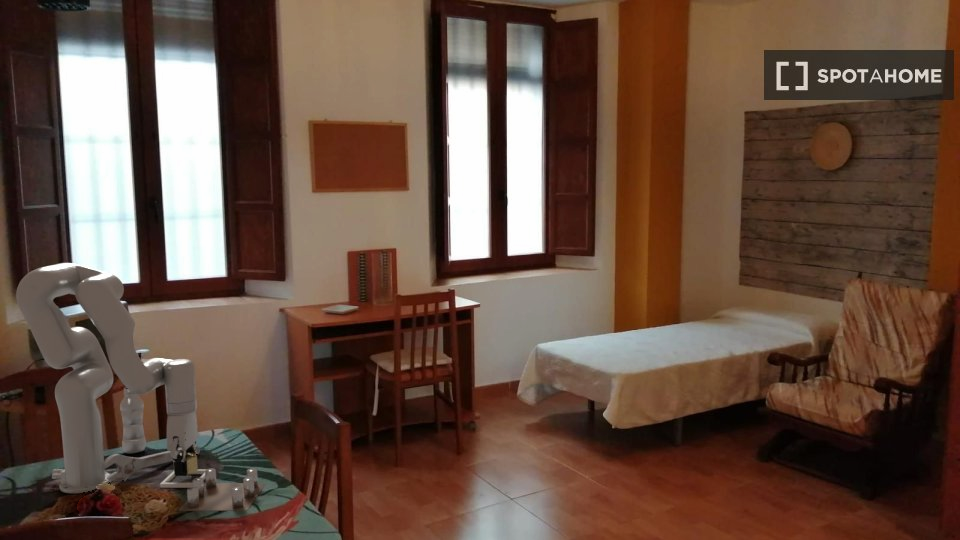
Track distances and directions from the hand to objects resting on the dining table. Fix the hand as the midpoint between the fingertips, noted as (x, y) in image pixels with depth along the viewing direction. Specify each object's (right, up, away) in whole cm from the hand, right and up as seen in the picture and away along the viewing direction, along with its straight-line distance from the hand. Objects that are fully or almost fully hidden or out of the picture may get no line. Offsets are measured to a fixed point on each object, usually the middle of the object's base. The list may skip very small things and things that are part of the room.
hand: (185, 470), depth 204 cm
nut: (0, 0, 0) cm, 0 cm away
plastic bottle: (-25, -1, +24) cm, 35 cm away
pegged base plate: (+14, -4, -10) cm, 18 cm away
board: (+14, -5, -10) cm, 18 cm away
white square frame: (0, -4, 0) cm, 4 cm away
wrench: (-13, -3, +11) cm, 17 cm away
